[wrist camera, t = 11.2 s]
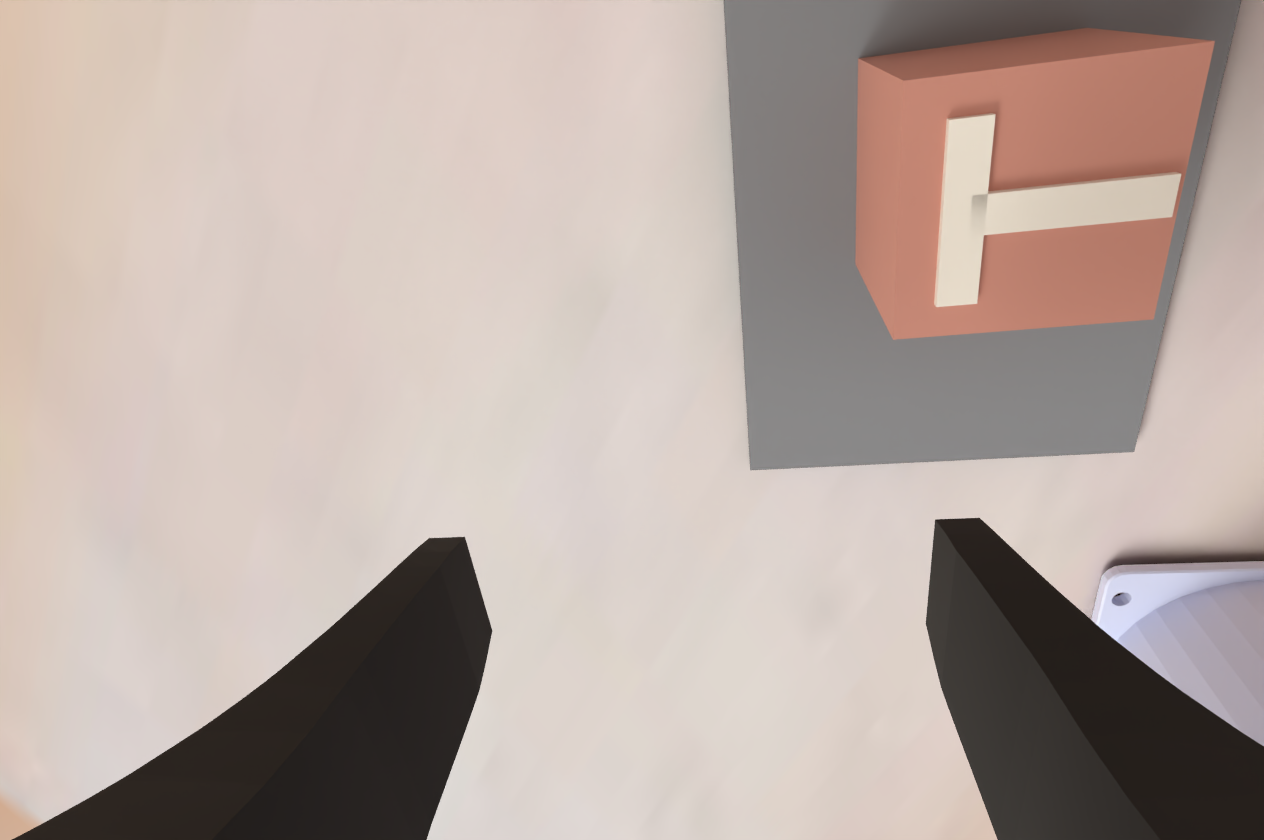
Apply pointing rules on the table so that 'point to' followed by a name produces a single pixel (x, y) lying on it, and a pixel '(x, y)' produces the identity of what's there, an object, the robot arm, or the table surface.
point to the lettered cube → (1023, 178)
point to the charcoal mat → (834, 289)
